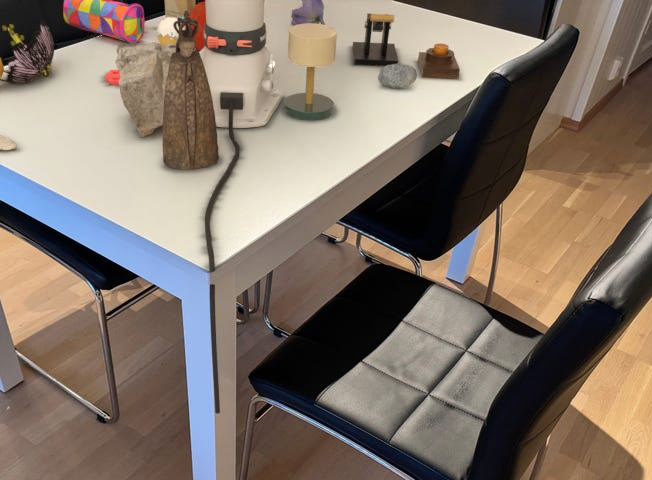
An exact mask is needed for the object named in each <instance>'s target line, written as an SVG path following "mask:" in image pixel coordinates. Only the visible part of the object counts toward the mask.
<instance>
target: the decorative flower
mask: <svg viewBox="0 0 652 480" xmlns="http://www.w3.org/2000/svg"><path fill="white" fill-rule="evenodd" d="M1 29H2V31H4V32H7V31H8V34H9V35H10V37H11V38H12V39H13V40H10V46H11V52H12V54H13V57H12V58H10V59H9V60H8V61H7V63H6V66H8V69H4V72H3V73H5V74H7V75H6V77H7V78H6V79H2V78H1V79H0V82H4V83H9V84H16V85H20V84H21V85H22V84H28V83H30V82H33V81H35V79H37V78H38V77H39V76H42V77H43V78H47V77H49V75H50V74H51V72H52V68H51V67H52V63H53V59H54V55H55V42H54V37H53V34H52V31H51V28H50V26H49V25H48V24H47V23H46V21H45V20H39V28H38V27H36V31H33V32H32V35H31V36H30V37H31V38H30V39H29V41H28V43H27V42H26V43H23V41H24V40H25V36H24V35H23V34H19V33H18V32H15V31H14V29H15V26H14V24H13V23H9V24H8V26H7V25H5V24H4V25H3V24H2V26H1Z"/></svg>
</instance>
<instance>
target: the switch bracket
mask: <svg viewBox="0 0 652 480" xmlns="http://www.w3.org/2000/svg"><path fill="white" fill-rule="evenodd" d="M371 14H372V13H367V15H366V21H364V29H365V36H364V41H353V42H352V57H353V65H354V66H370V67H385V66H387V65H392V64H397V63H399V58H398V55H397V54H398V53H397V49H396V45H395V43H389V36H390V30H392V22H384V23H383V31H382V33H381V34H382V35H381V42H371V40H372V27H373V21H370V18H371ZM384 15H390V14H389V13H388V14H387V13H384Z"/></svg>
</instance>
